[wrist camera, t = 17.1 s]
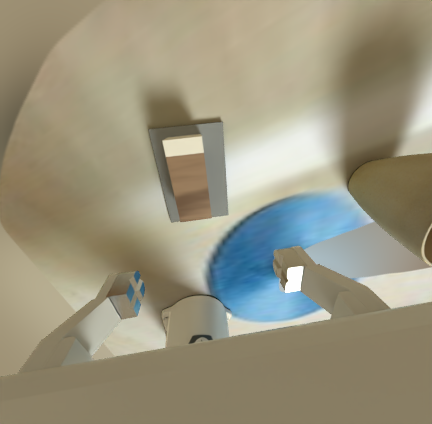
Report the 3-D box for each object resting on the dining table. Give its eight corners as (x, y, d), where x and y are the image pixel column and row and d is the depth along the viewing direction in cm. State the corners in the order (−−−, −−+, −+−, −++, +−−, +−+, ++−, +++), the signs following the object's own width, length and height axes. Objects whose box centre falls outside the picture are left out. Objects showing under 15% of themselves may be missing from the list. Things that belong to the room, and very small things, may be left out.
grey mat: (227, 213, 34) (228, 215, 33) (171, 220, 33) (171, 222, 33) (222, 121, 26) (222, 121, 26) (149, 129, 26) (148, 129, 25)
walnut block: (211, 217, 28) (201, 136, 22) (180, 222, 27) (162, 140, 22) (209, 204, 32) (200, 133, 26) (182, 208, 32) (167, 137, 26)
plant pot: (389, 207, 37) (506, 259, 23) (323, 217, 37) (402, 276, 23) (420, 132, 30) (613, 141, 16) (339, 142, 30) (467, 161, 16)
